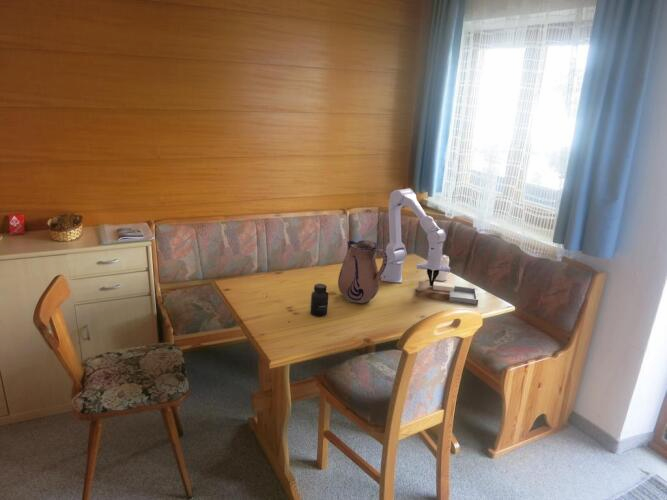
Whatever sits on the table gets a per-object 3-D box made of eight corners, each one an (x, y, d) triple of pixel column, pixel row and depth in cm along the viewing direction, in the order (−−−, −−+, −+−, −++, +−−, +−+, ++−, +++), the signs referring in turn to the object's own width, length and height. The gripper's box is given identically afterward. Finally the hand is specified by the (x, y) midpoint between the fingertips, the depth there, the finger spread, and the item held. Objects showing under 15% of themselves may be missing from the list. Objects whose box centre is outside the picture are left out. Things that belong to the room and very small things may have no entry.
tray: (449, 301, 211) (449, 296, 210) (448, 290, 224) (449, 285, 223) (477, 305, 209) (478, 299, 208) (475, 293, 222) (476, 288, 221)
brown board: (416, 296, 215) (417, 290, 214) (418, 287, 226) (418, 281, 225) (449, 300, 212) (449, 294, 211) (448, 290, 223) (449, 284, 222)
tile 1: (433, 289, 216) (433, 285, 215) (433, 285, 220) (433, 281, 220) (443, 290, 215) (443, 286, 214) (443, 286, 219) (443, 282, 219)
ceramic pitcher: (347, 288, 219) (350, 235, 212) (391, 298, 211) (396, 243, 203) (330, 301, 204) (333, 245, 197) (376, 313, 196) (381, 254, 188)
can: (447, 281, 235) (450, 258, 231) (434, 280, 235) (437, 257, 231) (445, 276, 241) (448, 254, 237) (432, 276, 241) (434, 253, 238)
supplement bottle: (321, 319, 188) (322, 290, 184) (306, 314, 191) (308, 286, 188) (330, 313, 193) (332, 285, 190) (316, 308, 197) (317, 281, 193)
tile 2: (443, 290, 215) (444, 286, 214) (443, 286, 219) (443, 282, 219) (453, 291, 214) (454, 287, 214) (453, 288, 218) (454, 284, 218)
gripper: (417, 257, 211) (414, 286, 215) (451, 261, 209) (447, 290, 213) (418, 252, 218) (415, 281, 222) (451, 256, 215) (447, 284, 219)
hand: (431, 285), depth 218 cm, fingers closed
